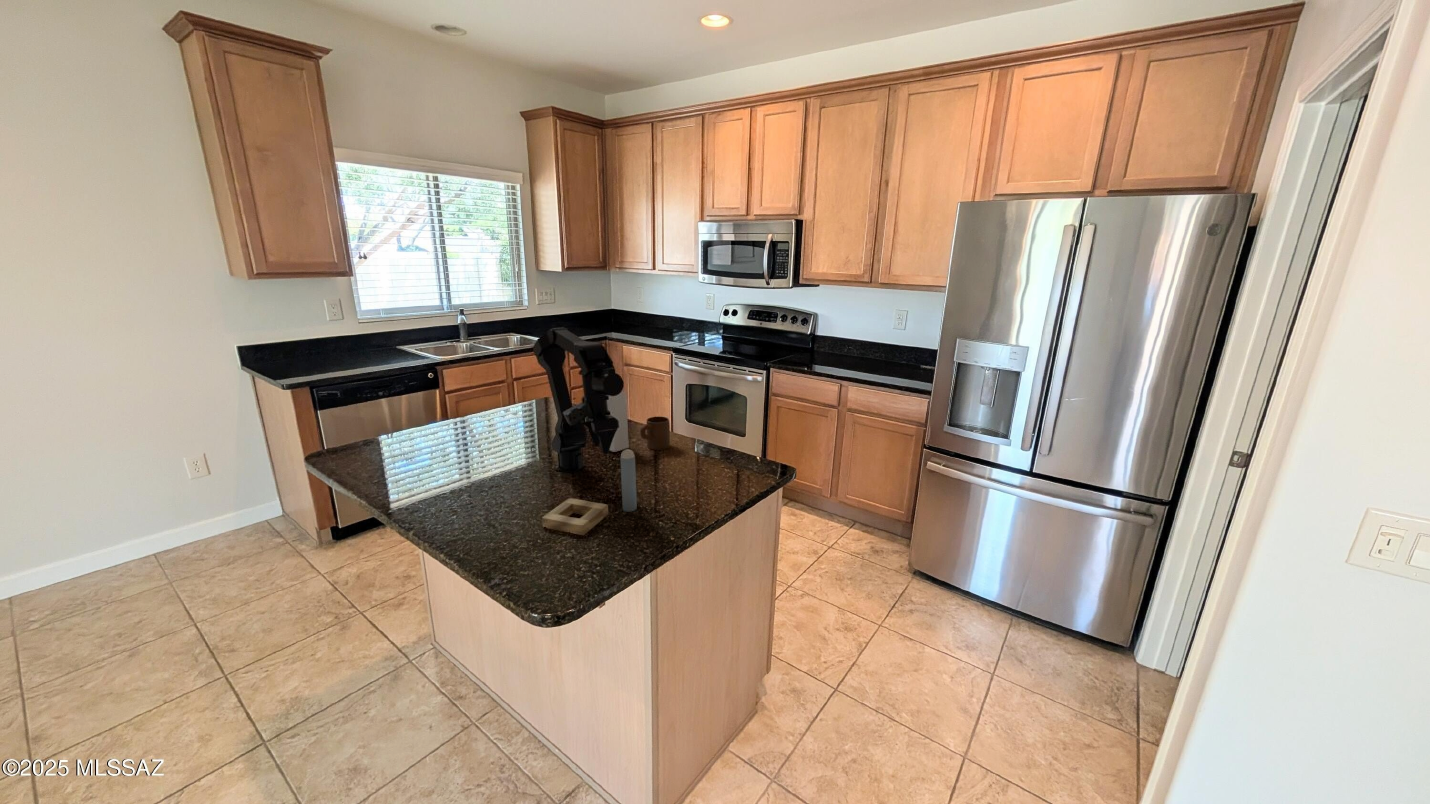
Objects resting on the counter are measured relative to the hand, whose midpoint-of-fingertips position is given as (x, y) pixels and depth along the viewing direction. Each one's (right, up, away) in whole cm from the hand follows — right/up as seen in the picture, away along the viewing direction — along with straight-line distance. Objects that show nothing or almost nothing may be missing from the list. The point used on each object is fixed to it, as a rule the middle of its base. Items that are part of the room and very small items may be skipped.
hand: (601, 449), depth 141 cm
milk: (-2, -3, +34) cm, 34 cm away
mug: (+10, -3, +34) cm, 36 cm away
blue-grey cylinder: (+9, -14, -7) cm, 18 cm away
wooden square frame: (-3, -16, -14) cm, 21 cm away
